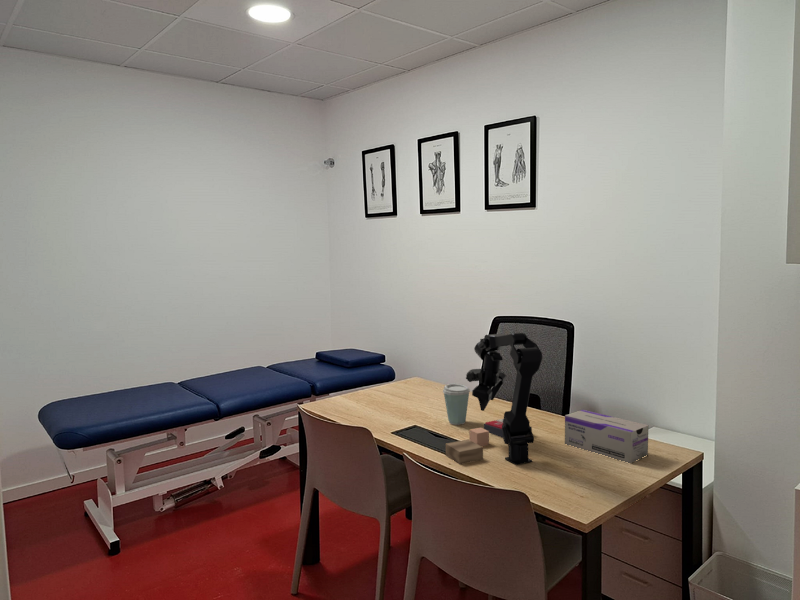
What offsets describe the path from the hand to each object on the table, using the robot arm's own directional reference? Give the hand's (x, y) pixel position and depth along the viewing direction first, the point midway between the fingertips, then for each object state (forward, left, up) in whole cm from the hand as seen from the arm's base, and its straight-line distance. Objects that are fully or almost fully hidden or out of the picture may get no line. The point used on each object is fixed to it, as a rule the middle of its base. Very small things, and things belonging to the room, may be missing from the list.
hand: (487, 405), depth 216 cm
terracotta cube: (-5, +7, -12) cm, 15 cm away
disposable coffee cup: (+20, +1, -12) cm, 23 cm away
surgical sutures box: (-31, -27, -12) cm, 43 cm away
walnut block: (-14, +19, -12) cm, 27 cm away
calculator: (0, -9, -13) cm, 16 cm away
